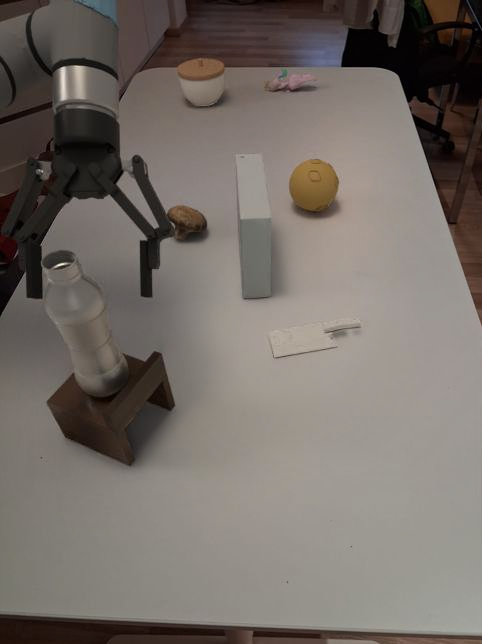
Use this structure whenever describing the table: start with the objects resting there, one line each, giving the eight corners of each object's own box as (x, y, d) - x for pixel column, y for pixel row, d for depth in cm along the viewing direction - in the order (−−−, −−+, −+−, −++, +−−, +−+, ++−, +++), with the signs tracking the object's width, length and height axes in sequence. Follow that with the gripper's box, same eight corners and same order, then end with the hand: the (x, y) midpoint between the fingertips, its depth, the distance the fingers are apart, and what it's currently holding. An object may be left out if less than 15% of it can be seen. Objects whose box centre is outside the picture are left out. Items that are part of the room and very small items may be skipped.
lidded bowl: (172, 102, 150) (166, 59, 142) (208, 88, 155) (203, 47, 147) (200, 115, 143) (195, 71, 135) (236, 101, 149) (233, 58, 141)
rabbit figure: (264, 98, 152) (317, 90, 149) (260, 76, 148) (314, 67, 145) (267, 89, 157) (318, 81, 153) (263, 68, 152) (315, 59, 149)
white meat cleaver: (367, 341, 84) (368, 336, 83) (273, 358, 82) (273, 353, 82) (357, 319, 87) (358, 314, 86) (267, 334, 86) (267, 330, 85)
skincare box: (274, 297, 92) (272, 217, 80) (242, 300, 92) (235, 220, 80) (265, 227, 106) (262, 151, 95) (237, 229, 106) (231, 153, 95)
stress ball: (295, 223, 107) (295, 177, 100) (284, 198, 114) (283, 153, 106) (343, 216, 108) (347, 170, 101) (329, 191, 115) (332, 146, 107)
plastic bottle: (101, 359, 73) (54, 235, 58) (142, 375, 70) (104, 250, 56) (70, 393, 69) (11, 269, 54) (113, 411, 66) (63, 287, 52)
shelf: (64, 437, 74) (37, 386, 66) (113, 381, 80) (93, 329, 72) (130, 466, 70) (109, 416, 62) (175, 405, 77) (162, 353, 69)
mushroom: (166, 237, 100) (175, 203, 98) (158, 230, 107) (166, 199, 105) (206, 248, 103) (215, 216, 102) (195, 241, 110) (204, 211, 109)
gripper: (196, 127, 67) (199, 298, 68) (0, 132, 68) (5, 300, 69) (185, 101, 59) (188, 294, 60) (-35, 108, 60) (-30, 296, 61)
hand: (90, 298), depth 64 cm, fingers open, 13 cm apart
